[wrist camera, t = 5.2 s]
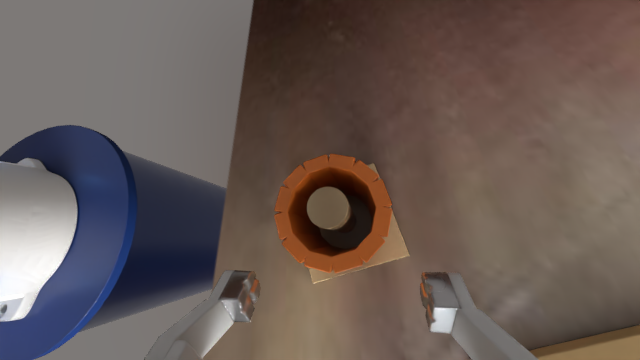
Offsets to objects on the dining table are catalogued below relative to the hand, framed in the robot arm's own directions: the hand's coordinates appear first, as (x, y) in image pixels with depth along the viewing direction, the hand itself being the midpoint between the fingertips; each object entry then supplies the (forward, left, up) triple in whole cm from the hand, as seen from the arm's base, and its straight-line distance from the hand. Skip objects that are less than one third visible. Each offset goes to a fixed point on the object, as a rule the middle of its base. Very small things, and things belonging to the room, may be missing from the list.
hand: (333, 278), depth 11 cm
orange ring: (+1, +3, -8) cm, 8 cm away
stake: (+1, +3, -9) cm, 9 cm away
